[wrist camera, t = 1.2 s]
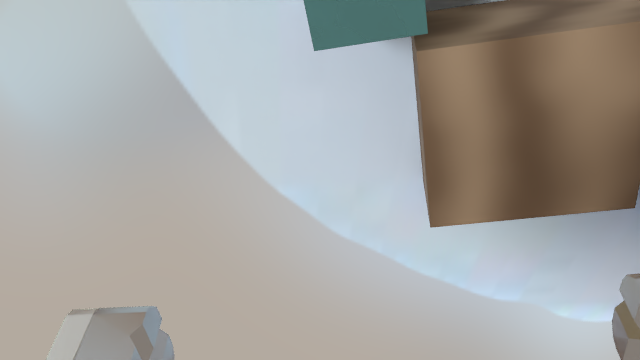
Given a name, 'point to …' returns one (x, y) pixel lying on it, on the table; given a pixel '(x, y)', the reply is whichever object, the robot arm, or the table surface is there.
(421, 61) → the walnut block
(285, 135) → the table surface
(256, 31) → the table surface
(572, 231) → the table surface
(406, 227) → the table surface
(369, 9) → the spice tin
